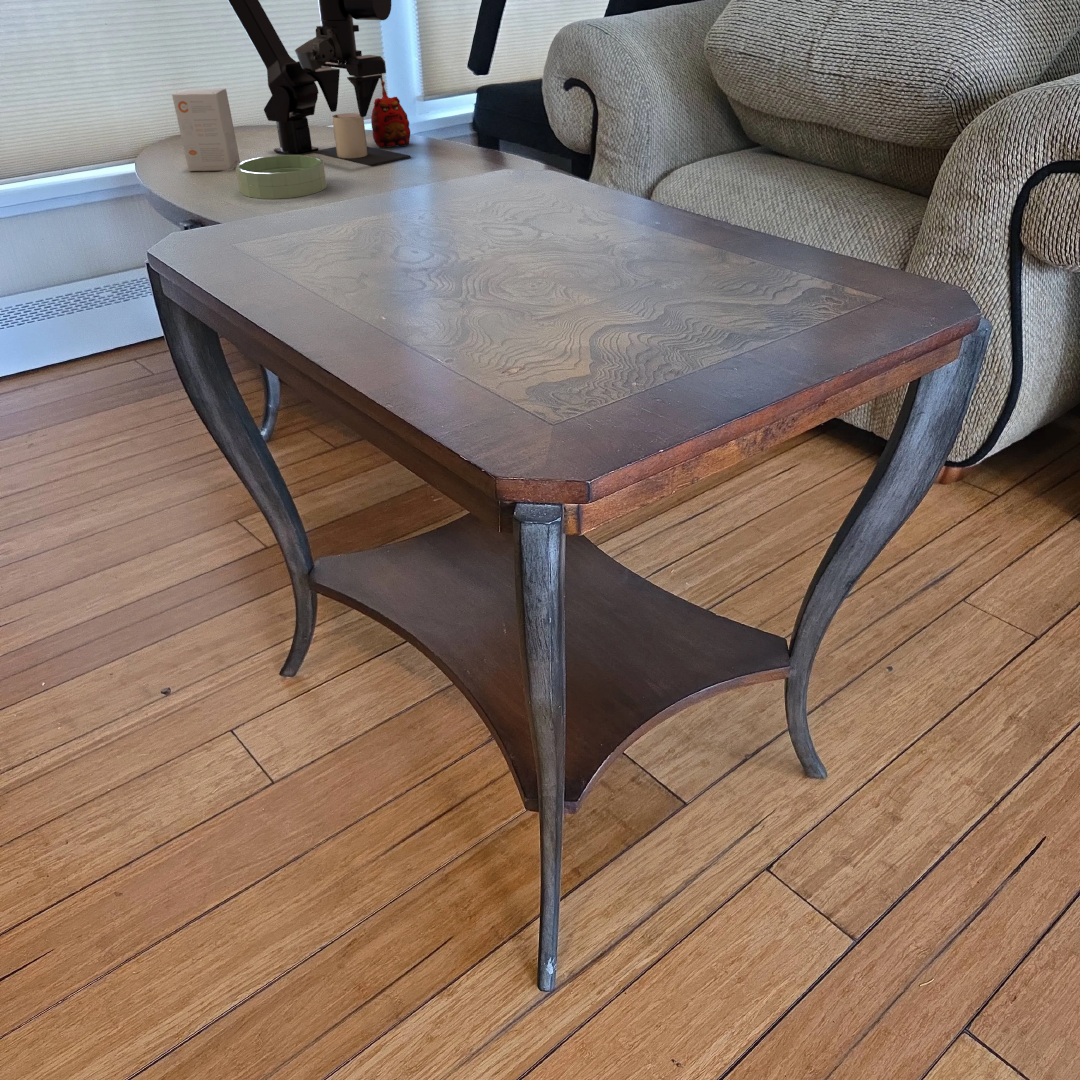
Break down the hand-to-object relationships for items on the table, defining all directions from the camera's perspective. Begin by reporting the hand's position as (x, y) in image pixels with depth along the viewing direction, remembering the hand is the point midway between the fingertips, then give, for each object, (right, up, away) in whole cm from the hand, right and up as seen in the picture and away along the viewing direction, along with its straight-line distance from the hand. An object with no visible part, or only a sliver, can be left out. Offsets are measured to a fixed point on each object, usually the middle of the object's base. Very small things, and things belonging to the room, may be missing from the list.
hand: (348, 114), depth 176 cm
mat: (0, -6, +4) cm, 8 cm away
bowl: (-7, -21, -18) cm, 28 cm away
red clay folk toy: (+6, 0, +13) cm, 15 cm away
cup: (0, -6, +4) cm, 7 cm away
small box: (-25, -11, -1) cm, 27 cm away
